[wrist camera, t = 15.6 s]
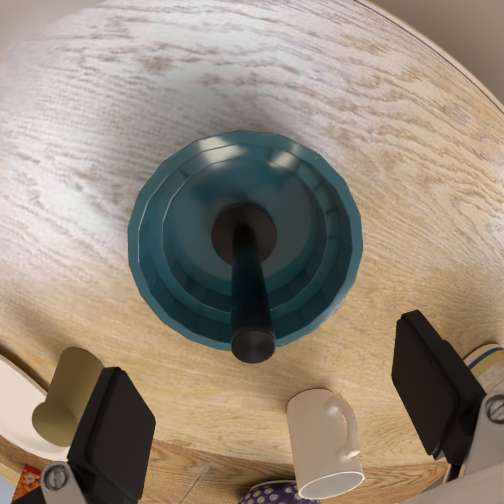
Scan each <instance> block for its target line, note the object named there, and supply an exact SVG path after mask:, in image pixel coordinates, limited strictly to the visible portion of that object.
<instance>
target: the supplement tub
mask: <svg viewBox="0 0 504 504" xmlns="http://www.w3.org/2000/svg"><path fill="white" fill-rule="evenodd" d="M463 361H464V363H465V364H466V365H467V367H468V368H469V369H470V371H471V372H472V373H473V375H474V376H475V378H476V379H477V380H478V382H479V383H480V385H481V386H482V387H483V389H484V390H485V392H486V393H487V395H488V394H489V393H491V392H493V391H496V390H504V348H503V347H502V346H500V345H498V344H488V345H485V346H482V347H480V348H479V349H477V350H475V351H474V352H472V353H471V354H470V355H469V356H468V357H467V358H465V359H464V360H463Z"/></svg>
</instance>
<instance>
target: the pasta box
mask: <svg viewBox="0 0 504 504" xmlns="http://www.w3.org/2000/svg"><path fill="white" fill-rule="evenodd" d="M41 472H42V471H41V470H38V469H36V468H34V467H32V466H29V465H27V464H26V465H25V467H24V470H23V472H22V475H21V477H20V480H19V482H18V485H17V488H16V490H15V493H14V496H13V498H12V502H13V501H14V500H16V499H17V498H19V497H21V496H23V495H25V494H26V493H28V492H30V491H31V490H33V489H35V488H37V487H38V486H40V474H41ZM12 502H11V503H12Z"/></svg>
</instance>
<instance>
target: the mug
mask: <svg viewBox="0 0 504 504" xmlns="http://www.w3.org/2000/svg"><path fill="white" fill-rule="evenodd" d="M343 415H344V417H345V419H346V423H347V425H346V423H345V420H344V417H343ZM287 418H288V427H289V433H290V440H291V447H292V454H293V462H294V469H295V476H296V482H297V487H298V494H299V496H300V497H302V498H305V499H324V498H330V497H334V496H337V495H340V494H343V493H345V492H348V491H350V490H352V489H354V488H355V487H357V486H358V485H359V484H360V483H361V482H362V481H363V480H364V474H363V471H362V468H361V464H360V461H359V458H358V456H357V453H359V452H360V451H361V450H360V447H359V432H358V425H357V420H356V416H355V414H354V411H353V409H352V408H351V406H350V405H349V403H348V402H347V401H346V400H345V399H344V398H343V397H342V396H341V395H340V394H333V393H332V392H331V391H328V390H325V389H311V390H307V391H304V392H302V393H299V394H298V395H296V396H295V397H293V398H292V399H291V400H290V401H289V403H288V405H287Z"/></svg>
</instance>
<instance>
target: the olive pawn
mask: <svg viewBox="0 0 504 504" xmlns="http://www.w3.org/2000/svg"><path fill="white" fill-rule="evenodd" d="M103 368H104V366H103V365H102V364H101V362H100V361H99V360H98V359H97V358H96V357H95V356H94V355H92V354H91V353H89V352H88V351H85V350H83V349H80V348H74V347H72V348H67V349H66V350H64V351H63V353H62V355H61V358H60V360H59V363H58V366H57V368H56V371H55V373H54V376H53V379H52V382H51V384H50V387H49V390H48V393H47V396H46V399H45V402H42V403H40V404H38V405H37V406H36V407H35V409H34V411H33V414H32V425H33V427H34V429H35V430H36V432H37V433H38V434H39V435H40V436H41V437H42V438H43V439H45V440H46V441H48V442H50V443H51V444H54V445H56V446H59V447H69V446H71V443H72V441H73V438H74V435H75V433H76V430H77V428H78V425H79V424H78V422H79V420H80V418H81V417H82V415H83V413H84V410H85V408H86V406H87V403H88V401H89V398H90V396H91V394H92V391H93V389H94V387H95V384H96V382H97V380H98V378H99V375H100V373H101V371H102V369H103Z"/></svg>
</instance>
